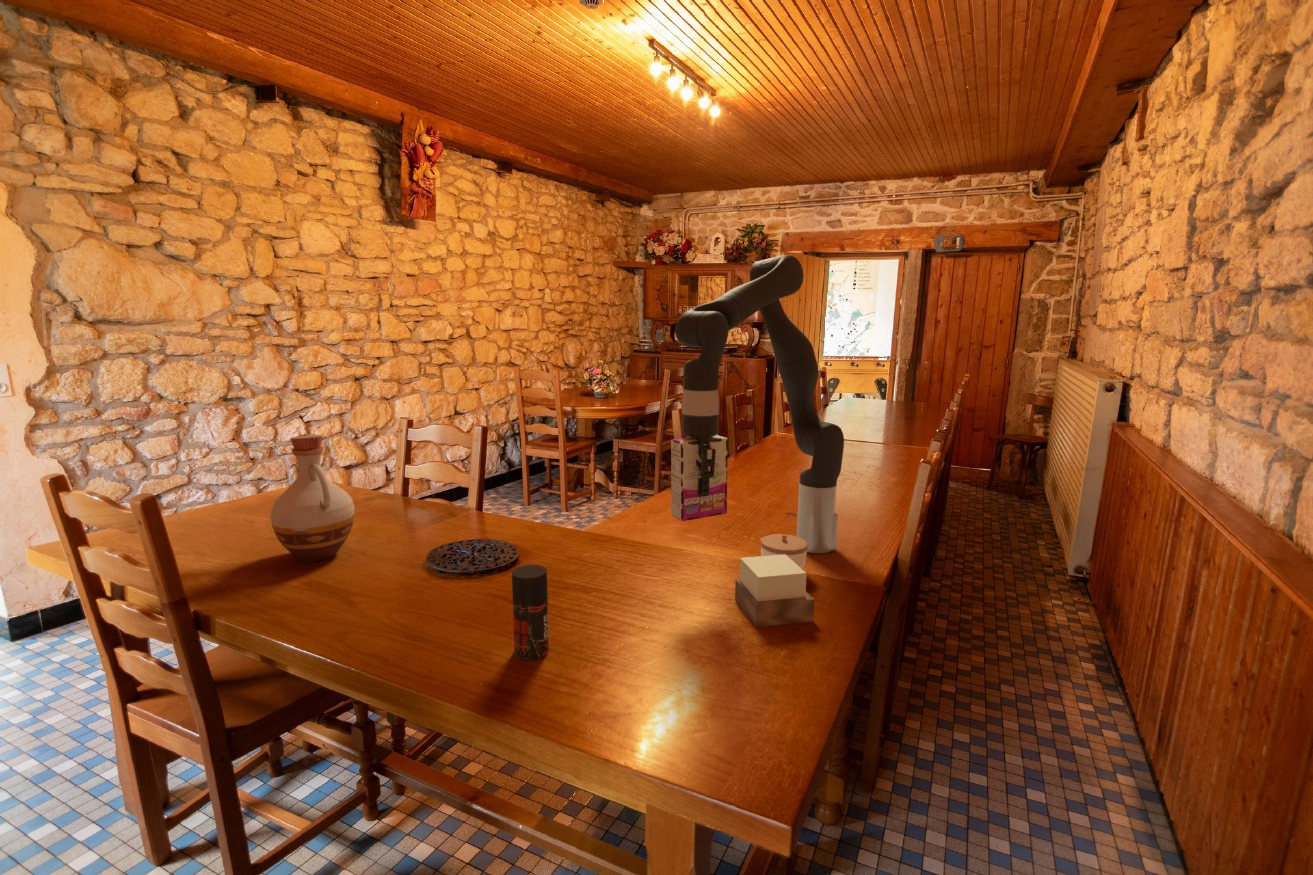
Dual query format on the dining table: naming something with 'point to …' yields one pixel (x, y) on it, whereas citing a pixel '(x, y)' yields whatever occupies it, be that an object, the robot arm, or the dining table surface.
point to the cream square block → (772, 577)
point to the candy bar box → (686, 480)
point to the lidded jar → (785, 547)
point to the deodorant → (530, 612)
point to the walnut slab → (774, 608)
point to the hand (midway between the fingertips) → (699, 491)
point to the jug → (312, 507)
